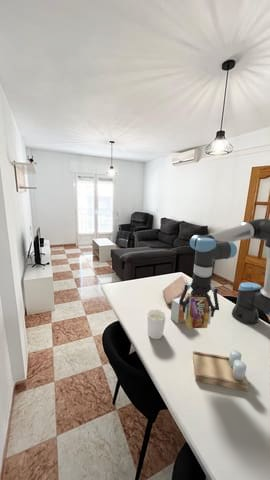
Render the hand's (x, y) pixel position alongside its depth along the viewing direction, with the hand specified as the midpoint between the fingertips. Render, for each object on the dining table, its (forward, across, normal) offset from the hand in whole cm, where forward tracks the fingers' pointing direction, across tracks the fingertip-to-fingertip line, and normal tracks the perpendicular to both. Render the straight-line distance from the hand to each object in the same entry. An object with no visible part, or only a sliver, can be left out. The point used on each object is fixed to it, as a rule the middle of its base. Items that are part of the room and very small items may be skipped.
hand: (196, 320), depth 88 cm
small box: (+20, +7, -29) cm, 36 cm away
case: (+20, +7, -53) cm, 57 cm away
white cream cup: (+20, +19, -12) cm, 30 cm away
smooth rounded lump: (+17, -18, +8) cm, 26 cm away
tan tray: (+20, -10, +6) cm, 23 cm away
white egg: (+17, -17, +2) cm, 25 cm away
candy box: (+3, 0, 0) cm, 3 cm away
